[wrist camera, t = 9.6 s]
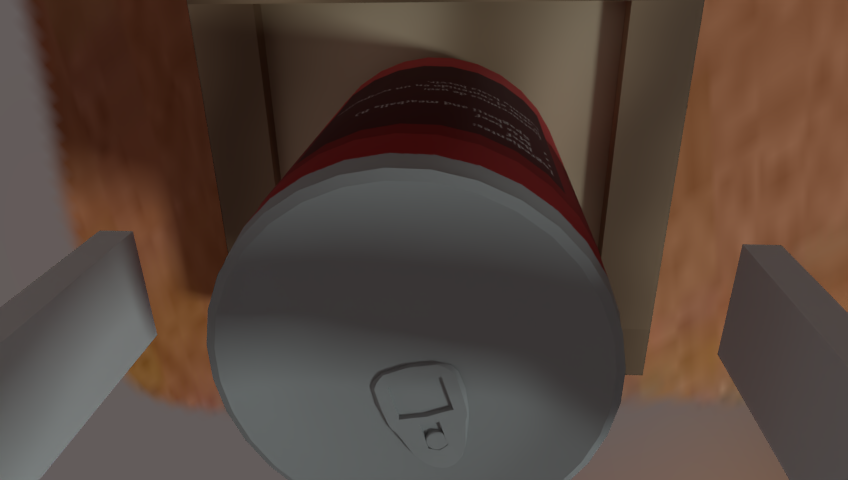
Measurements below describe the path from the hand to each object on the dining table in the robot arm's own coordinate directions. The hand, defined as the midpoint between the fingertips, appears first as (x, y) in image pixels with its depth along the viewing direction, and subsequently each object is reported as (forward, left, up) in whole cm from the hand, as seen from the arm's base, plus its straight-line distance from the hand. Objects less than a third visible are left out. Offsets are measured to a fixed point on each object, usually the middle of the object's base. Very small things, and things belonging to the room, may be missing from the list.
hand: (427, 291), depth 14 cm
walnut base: (0, 0, -11) cm, 11 cm away
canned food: (0, 0, -8) cm, 8 cm away
